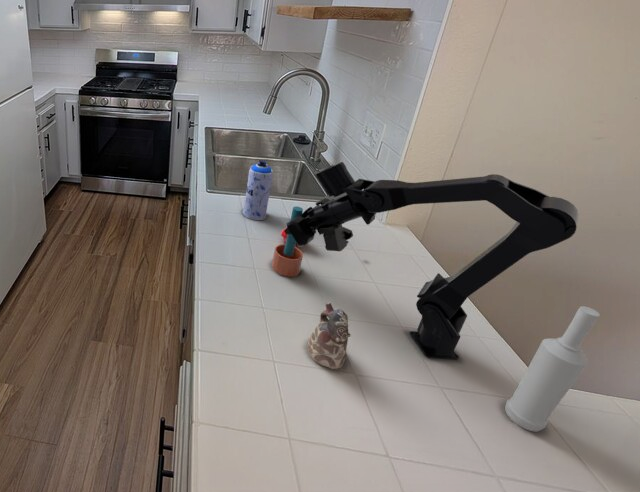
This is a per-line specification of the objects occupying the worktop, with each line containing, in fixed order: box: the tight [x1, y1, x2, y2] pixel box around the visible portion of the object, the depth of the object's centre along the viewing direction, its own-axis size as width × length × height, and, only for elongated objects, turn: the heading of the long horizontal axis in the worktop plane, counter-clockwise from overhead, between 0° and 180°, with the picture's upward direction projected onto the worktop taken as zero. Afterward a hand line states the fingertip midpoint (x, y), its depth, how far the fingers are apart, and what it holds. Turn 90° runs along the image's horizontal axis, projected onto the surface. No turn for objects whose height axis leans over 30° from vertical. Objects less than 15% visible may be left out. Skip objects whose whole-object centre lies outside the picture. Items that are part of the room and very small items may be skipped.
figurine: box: [307, 301, 352, 370], centre depth 78 cm, size 7×7×12 cm
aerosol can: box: [242, 159, 274, 221], centre depth 129 cm, size 8×8×20 cm
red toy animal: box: [280, 227, 297, 248], centre depth 116 cm, size 8×6×6 cm
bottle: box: [504, 305, 601, 433], centre depth 64 cm, size 5×5×25 cm
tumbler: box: [271, 243, 304, 278], centre depth 105 cm, size 7×7×6 cm
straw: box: [284, 206, 304, 256], centre depth 102 cm, size 2×2×14 cm
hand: (287, 230), depth 103 cm, fingers closed on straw, 2 cm apart
